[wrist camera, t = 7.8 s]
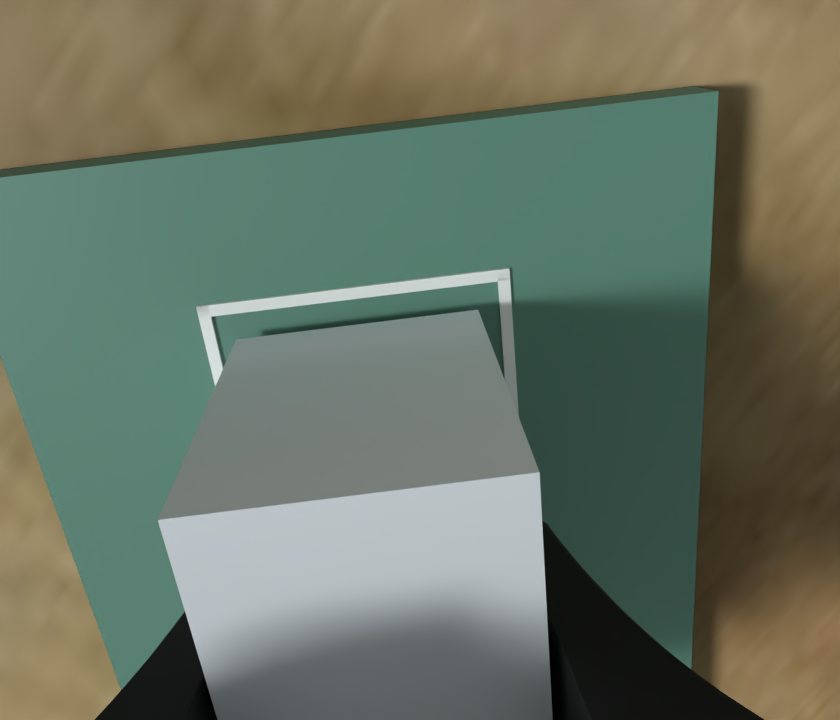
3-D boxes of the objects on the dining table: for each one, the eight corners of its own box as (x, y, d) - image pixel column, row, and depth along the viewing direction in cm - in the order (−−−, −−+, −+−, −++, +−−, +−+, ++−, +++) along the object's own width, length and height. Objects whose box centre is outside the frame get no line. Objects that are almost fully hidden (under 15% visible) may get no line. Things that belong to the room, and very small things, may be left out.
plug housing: (477, 310, 13) (539, 472, 8) (508, 671, 16) (563, 935, 11) (236, 339, 12) (157, 519, 8) (315, 696, 16) (292, 971, 11)
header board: (693, 86, 13) (849, 115, 9) (672, 701, 18) (759, 897, 14) (-31, 172, 13) (-228, 245, 8) (173, 765, 18) (115, 982, 14)
